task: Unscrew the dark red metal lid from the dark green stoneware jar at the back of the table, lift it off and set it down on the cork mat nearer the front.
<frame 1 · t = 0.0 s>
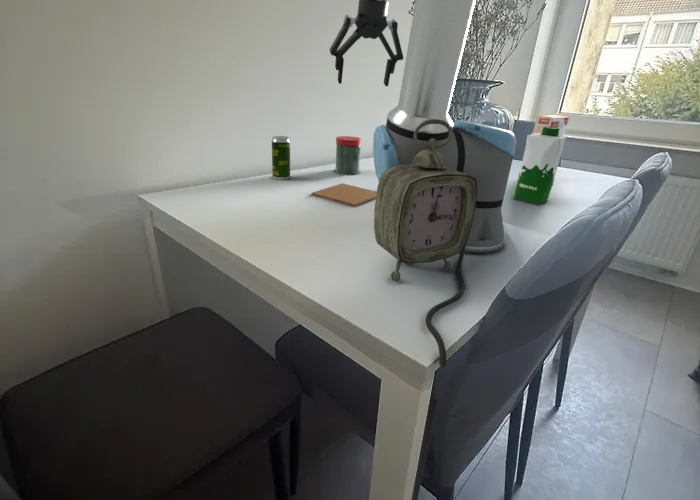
hand: (362, 83, 111), 28 cm above the table, tool tilted 20°, fingers open, 13 cm apart
lid: (348, 139, 127), point 11 cm above the table, screwed on, not yet turned
milk carton: (529, 200, 113), on the table
beer can: (281, 178, 119), on the table
jar: (347, 171, 131), on the table
mat: (347, 195, 106), on the table
tabletop clock: (412, 269, 68), on the table
cracker box: (537, 176, 142), on the table
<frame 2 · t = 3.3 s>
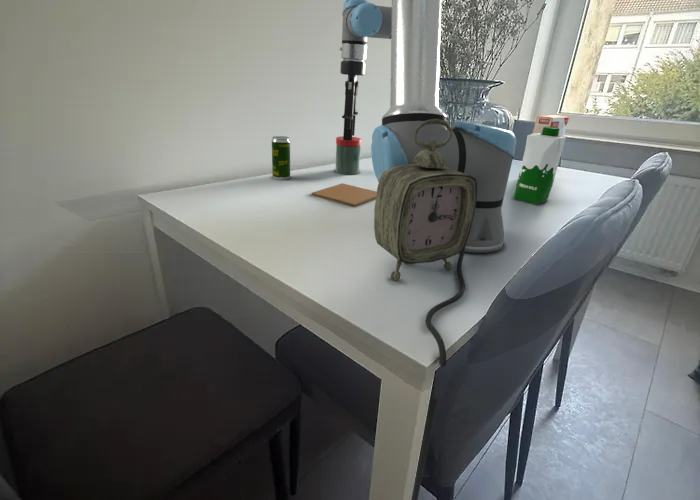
hand: (348, 137, 127), 11 cm above the table, tool pointing down
lid: (348, 139, 127), point 11 cm above the table, screwed on, not yet turned, touching gripper
everything else where it was.
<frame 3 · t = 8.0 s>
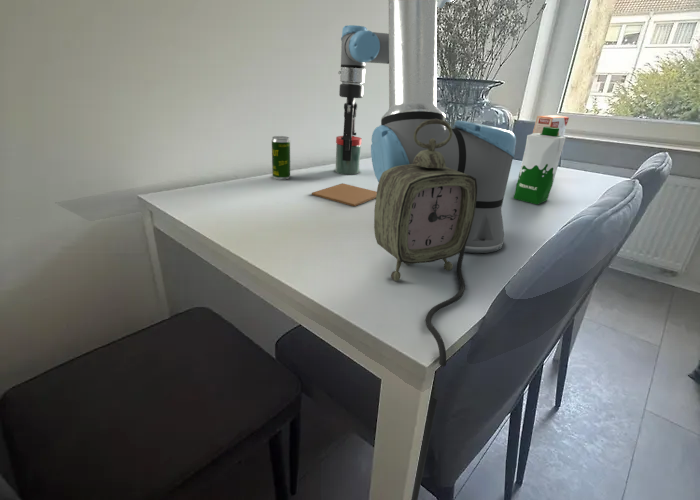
hand: (347, 157, 129), 5 cm above the table, tool pointing down, fingers closed on lid, 8 cm apart
lid: (348, 139, 127), point 11 cm above the table, turned 84° so far, risen 0.1 cm, still on its thread, touching gripper
everything else where it was.
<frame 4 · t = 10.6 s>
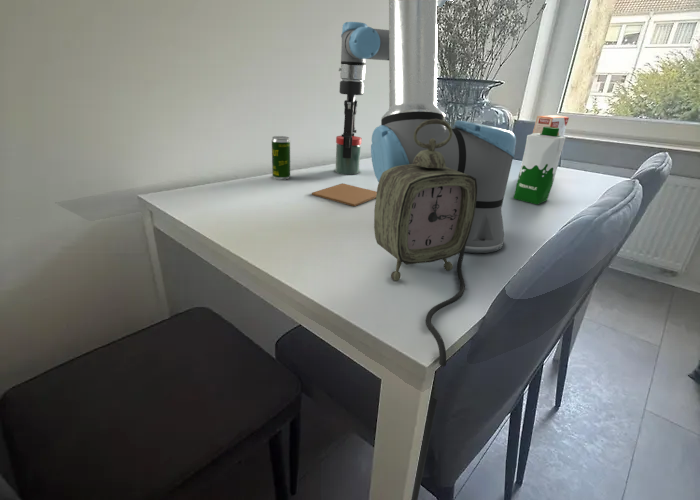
hand: (348, 155, 129), 6 cm above the table, tool pointing down, fingers closed on lid, 8 cm apart
lid: (348, 138, 127), point 11 cm above the table, turned 167° so far, risen 0.2 cm, still on its thread, touching gripper
everything else where it was.
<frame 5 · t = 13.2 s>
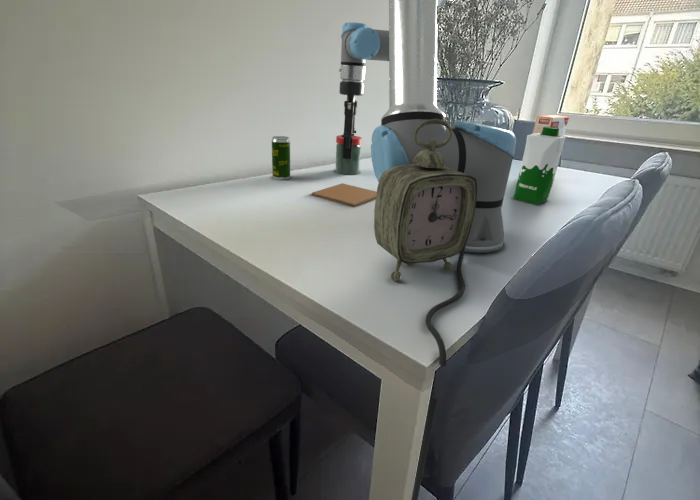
hand: (348, 155, 129), 5 cm above the table, tool pointing down, fingers closed on lid, 8 cm apart
lid: (348, 138, 127), point 11 cm above the table, turned 250° so far, risen 0.3 cm, still on its thread, touching gripper
everything else where it was.
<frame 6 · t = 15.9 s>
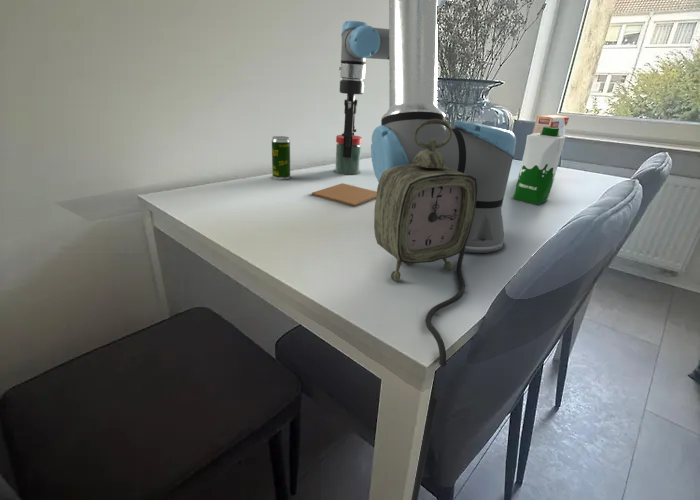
hand: (348, 154, 129), 6 cm above the table, tool pointing down, fingers closed on lid, 8 cm apart
lid: (349, 138, 127), point 11 cm above the table, turned 333° so far, risen 0.5 cm, still on its thread, touching gripper
everything else where it was.
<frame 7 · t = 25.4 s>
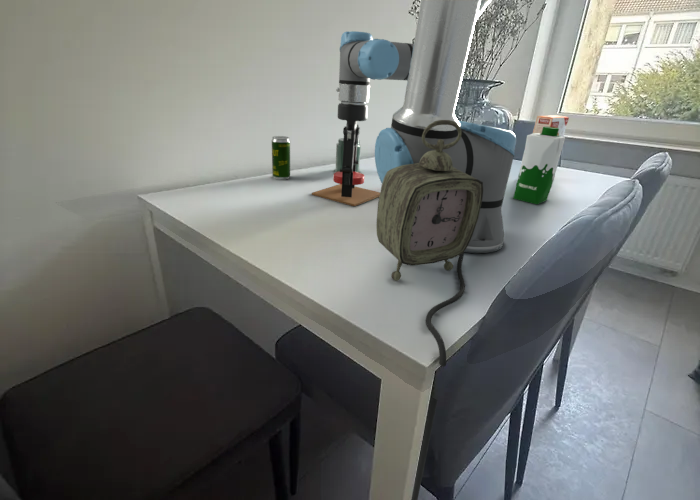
hand: (348, 191, 106), 1 cm above the table, tool pointing down, fingers closed on lid, 8 cm apart
lid: (348, 176, 104), point 5 cm above the table, off its thread, touching gripper
tabletop clock: (413, 268, 68), on the table, touching arm
everything else where it was.
when the fingers open (2 cm above the table, at t = 36.4 s): lid drops 1 cm, resting on mat.
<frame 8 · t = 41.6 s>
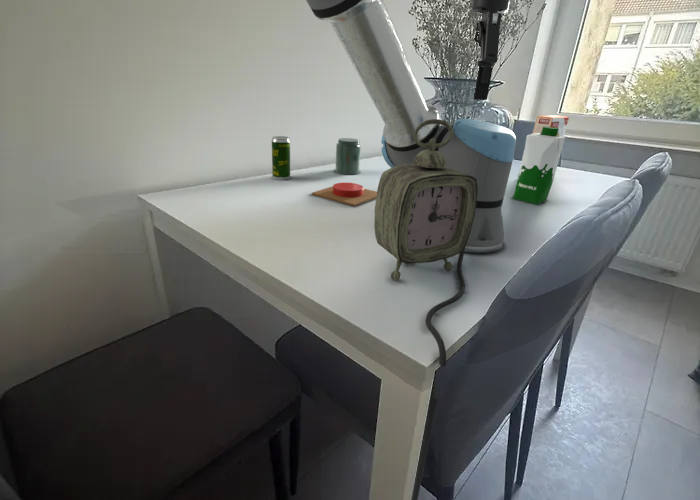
hand: (473, 98, 91), 27 cm above the table, tool pointing down, fingers open, 13 cm apart
lid: (348, 187, 106), point 2 cm above the table, off its thread, touching mat
tabletop clock: (413, 269, 68), on the table
everything else where it was.
at the end: lid came off its thread; lid inside the target area on the mat (0.1 cm from its centre), point 2.0 cm above the mat's base; the gripper is holding nothing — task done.
